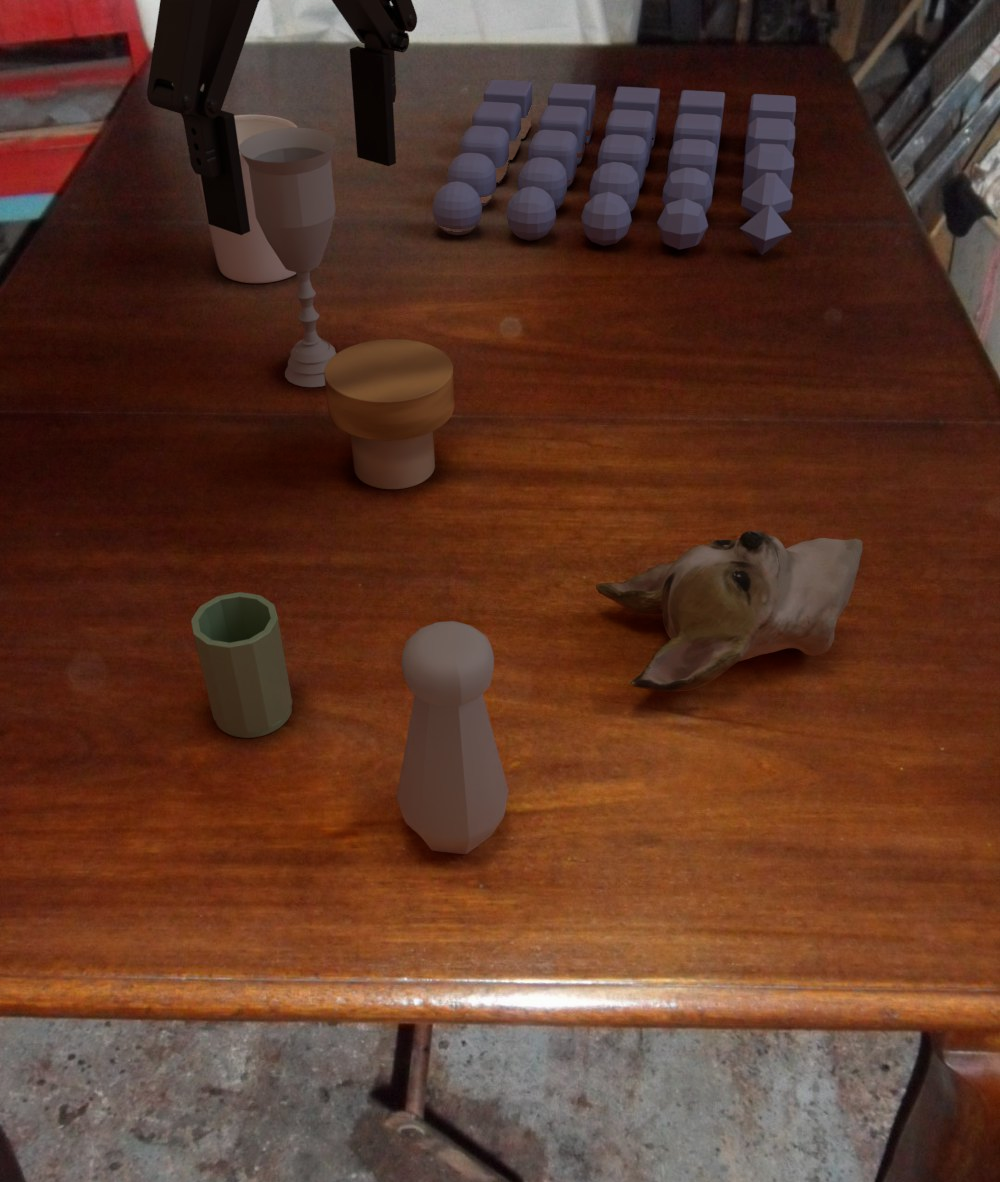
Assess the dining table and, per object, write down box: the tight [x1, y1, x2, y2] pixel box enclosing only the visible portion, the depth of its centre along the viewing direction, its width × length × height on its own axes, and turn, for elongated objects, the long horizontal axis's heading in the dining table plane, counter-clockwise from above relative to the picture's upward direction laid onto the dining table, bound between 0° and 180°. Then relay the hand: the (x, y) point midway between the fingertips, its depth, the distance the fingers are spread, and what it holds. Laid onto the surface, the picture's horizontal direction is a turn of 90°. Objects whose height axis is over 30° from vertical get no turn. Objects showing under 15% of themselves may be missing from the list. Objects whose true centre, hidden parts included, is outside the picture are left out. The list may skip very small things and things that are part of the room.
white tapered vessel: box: [195, 114, 299, 284], centre depth 109 cm, size 10×10×12 cm
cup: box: [190, 591, 293, 739], centre depth 67 cm, size 5×5×7 cm
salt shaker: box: [395, 620, 510, 855], centre depth 59 cm, size 6×6×13 cm
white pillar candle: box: [350, 431, 436, 490], centre depth 87 cm, size 6×6×5 cm
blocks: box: [432, 79, 797, 256], centre depth 126 cm, size 35×34×5 cm
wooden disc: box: [324, 338, 455, 441], centre depth 84 cm, size 9×9×3 cm
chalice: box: [239, 127, 338, 388], centre depth 93 cm, size 7×7×18 cm
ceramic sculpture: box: [595, 530, 864, 692], centre depth 71 cm, size 11×9×15 cm
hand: (307, 192), depth 75 cm, fingers open, 13 cm apart
